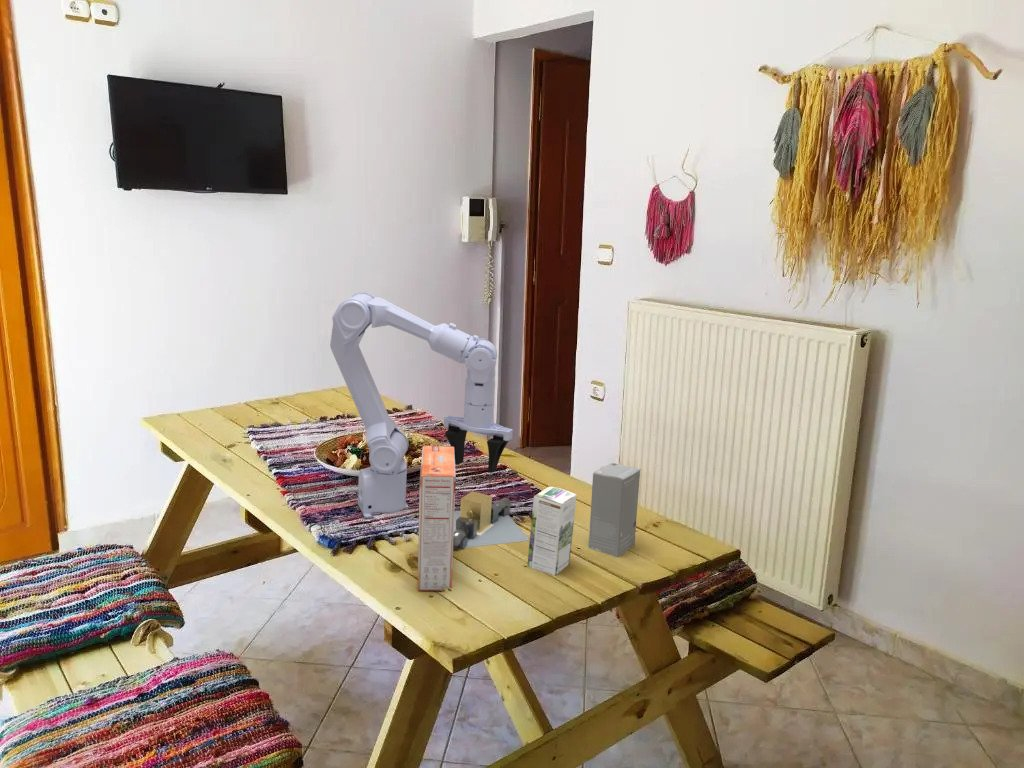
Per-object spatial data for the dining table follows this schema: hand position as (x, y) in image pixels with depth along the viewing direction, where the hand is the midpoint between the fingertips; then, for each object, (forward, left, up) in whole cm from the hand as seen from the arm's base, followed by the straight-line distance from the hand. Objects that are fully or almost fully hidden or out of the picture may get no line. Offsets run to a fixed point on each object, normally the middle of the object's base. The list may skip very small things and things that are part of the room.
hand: (475, 467), depth 160 cm
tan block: (-2, -7, -10) cm, 12 cm away
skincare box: (+21, -20, -11) cm, 31 cm away
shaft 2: (+4, -3, -10) cm, 11 cm away
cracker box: (-14, -21, -11) cm, 27 cm away
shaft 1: (-7, -13, -10) cm, 17 cm away
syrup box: (+6, -25, -11) cm, 28 cm away
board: (-2, -7, -10) cm, 13 cm away
